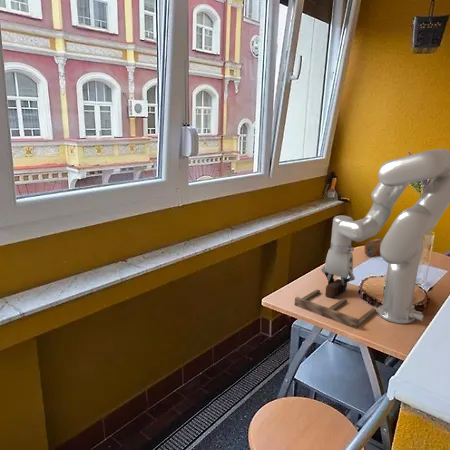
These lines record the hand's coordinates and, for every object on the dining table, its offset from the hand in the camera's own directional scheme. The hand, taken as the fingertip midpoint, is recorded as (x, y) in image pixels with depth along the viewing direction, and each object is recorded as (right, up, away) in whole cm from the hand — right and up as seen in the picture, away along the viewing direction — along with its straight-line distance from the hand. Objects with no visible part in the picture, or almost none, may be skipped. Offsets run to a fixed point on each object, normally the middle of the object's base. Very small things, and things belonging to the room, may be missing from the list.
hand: (336, 290), depth 161 cm
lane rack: (-4, -5, -12) cm, 14 cm away
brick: (0, -2, +1) cm, 2 cm away
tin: (+32, +10, +45) cm, 56 cm away
